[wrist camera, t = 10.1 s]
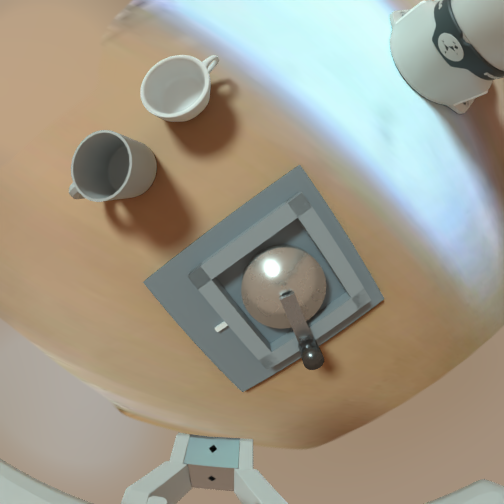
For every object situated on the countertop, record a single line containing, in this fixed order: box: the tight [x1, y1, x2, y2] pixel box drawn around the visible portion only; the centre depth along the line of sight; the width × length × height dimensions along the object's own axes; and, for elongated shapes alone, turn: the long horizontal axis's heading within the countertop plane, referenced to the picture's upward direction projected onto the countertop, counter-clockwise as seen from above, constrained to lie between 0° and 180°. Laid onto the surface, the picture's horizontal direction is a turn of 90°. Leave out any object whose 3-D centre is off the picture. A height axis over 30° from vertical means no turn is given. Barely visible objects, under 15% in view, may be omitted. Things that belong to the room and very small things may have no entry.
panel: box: [143, 165, 384, 392], centre depth 36 cm, size 24×21×3 cm
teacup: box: [141, 55, 219, 122], centre depth 30 cm, size 10×8×5 cm
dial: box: [241, 244, 326, 370], centre depth 34 cm, size 14×10×6 cm
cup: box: [69, 130, 157, 202], centre depth 30 cm, size 7×10×9 cm
